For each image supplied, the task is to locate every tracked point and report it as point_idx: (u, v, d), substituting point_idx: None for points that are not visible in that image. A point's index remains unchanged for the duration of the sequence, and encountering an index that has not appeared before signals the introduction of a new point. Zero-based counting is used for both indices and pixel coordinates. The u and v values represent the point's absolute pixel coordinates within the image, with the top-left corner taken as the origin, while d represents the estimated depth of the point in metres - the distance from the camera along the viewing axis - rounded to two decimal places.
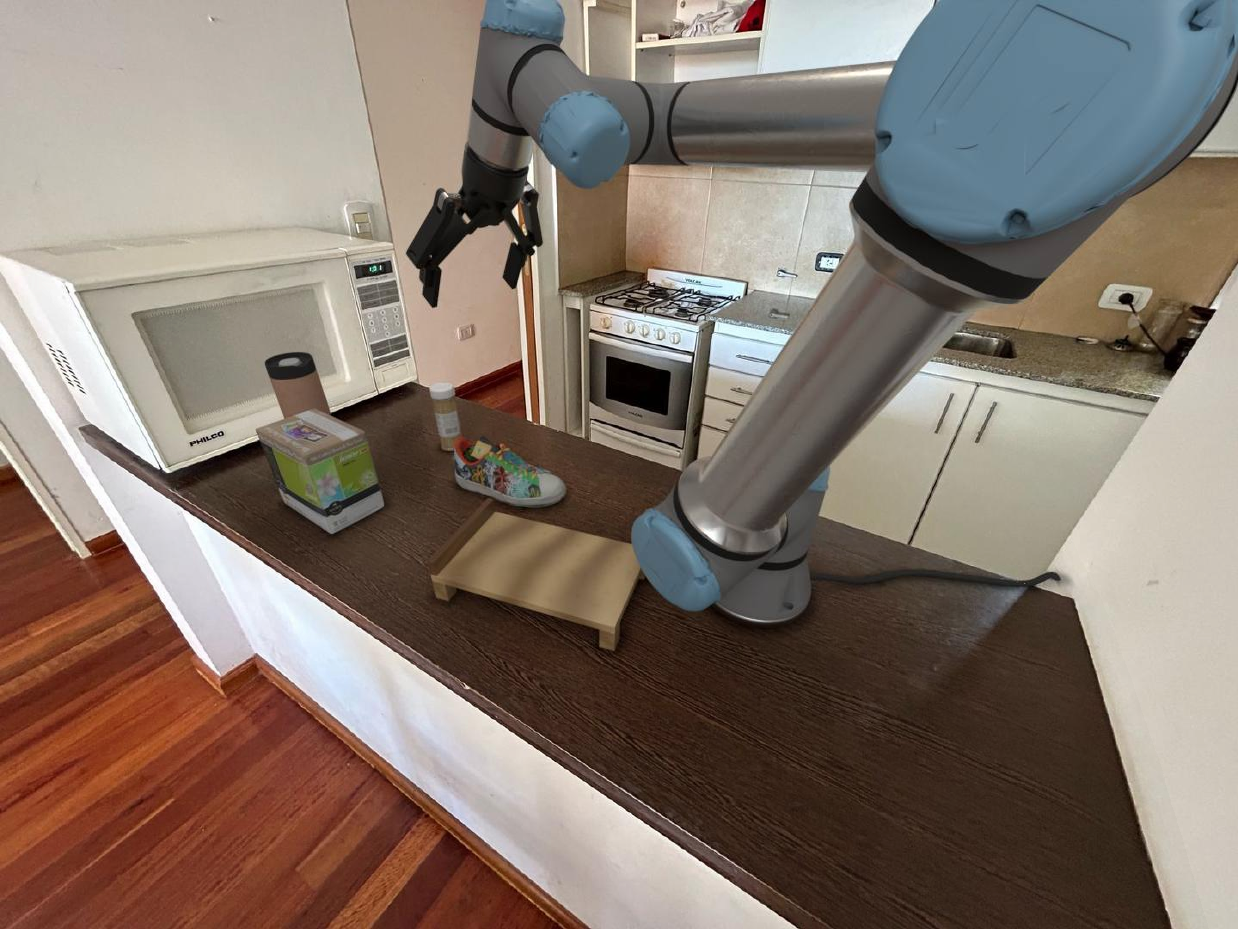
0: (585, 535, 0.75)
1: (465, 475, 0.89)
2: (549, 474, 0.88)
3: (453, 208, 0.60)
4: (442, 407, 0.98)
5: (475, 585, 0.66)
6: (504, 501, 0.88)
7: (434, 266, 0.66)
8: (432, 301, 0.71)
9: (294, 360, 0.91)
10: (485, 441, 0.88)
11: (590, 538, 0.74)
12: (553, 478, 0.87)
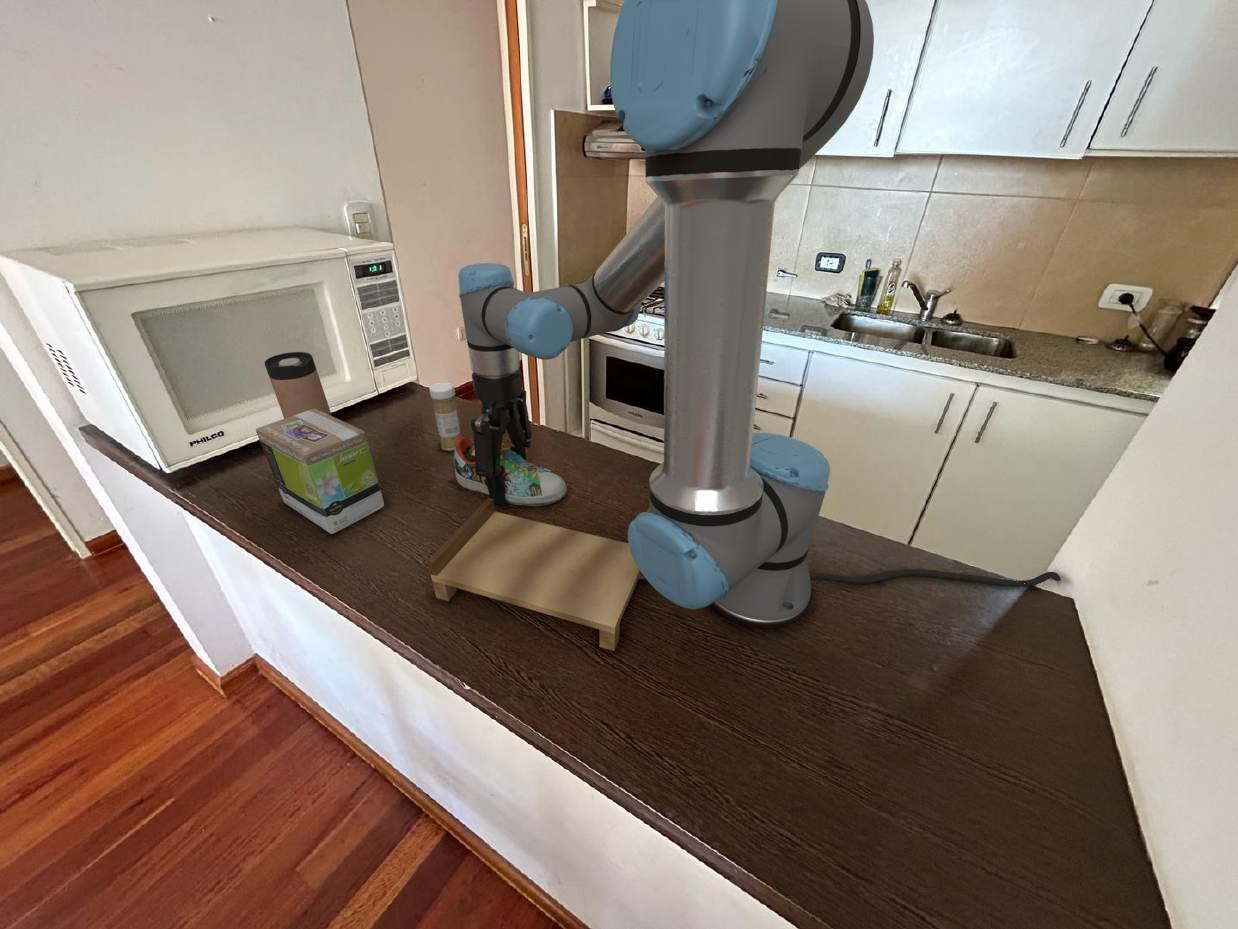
0: (585, 535, 0.75)
1: (466, 474, 0.90)
2: (550, 473, 0.89)
3: (488, 425, 0.78)
4: (442, 407, 0.98)
5: (475, 585, 0.66)
6: None
7: (497, 471, 0.83)
8: (502, 500, 0.87)
9: (294, 360, 0.91)
10: None
11: (590, 538, 0.74)
12: (554, 477, 0.88)
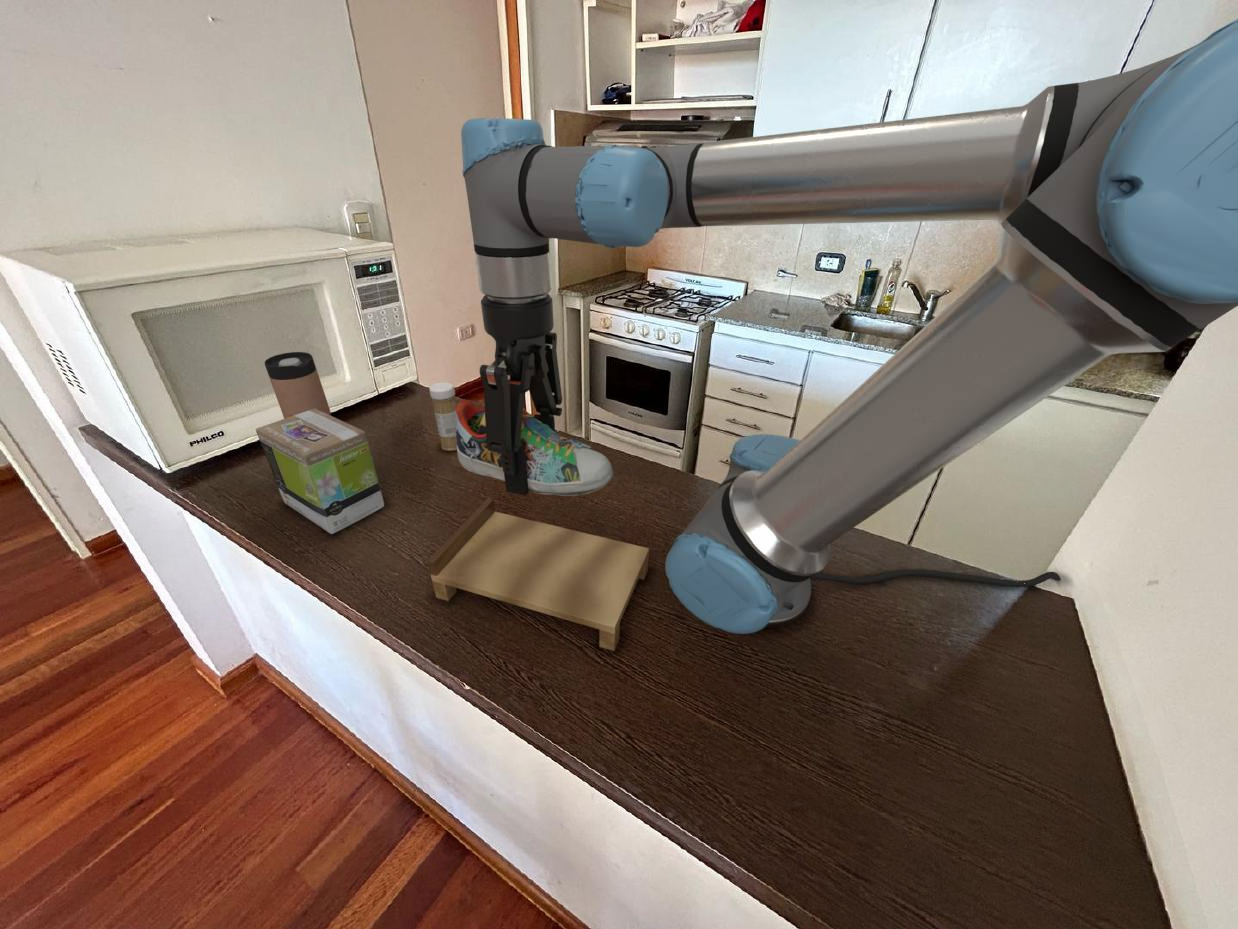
0: (585, 535, 0.75)
1: (472, 452, 0.64)
2: (589, 450, 0.63)
3: (505, 374, 0.53)
4: (442, 407, 0.98)
5: (475, 585, 0.66)
6: None
7: (518, 444, 0.58)
8: (524, 488, 0.62)
9: (294, 360, 0.91)
10: None
11: (590, 538, 0.74)
12: (596, 455, 0.62)
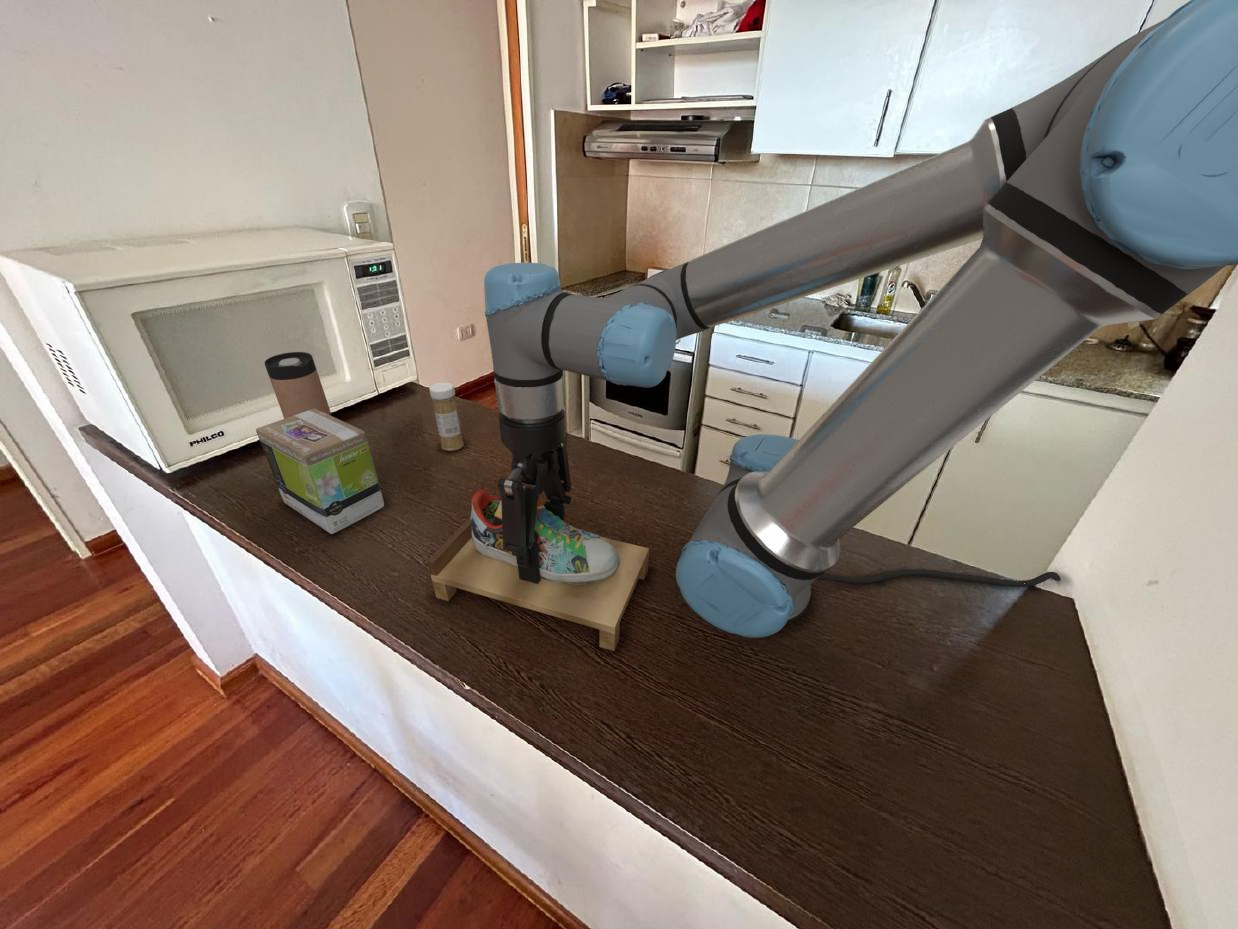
0: None
1: (486, 540, 0.68)
2: (597, 539, 0.67)
3: (522, 486, 0.57)
4: (442, 407, 0.98)
5: (475, 585, 0.66)
6: None
7: (531, 542, 0.62)
8: (536, 577, 0.66)
9: (294, 360, 0.91)
10: None
11: None
12: (603, 546, 0.66)
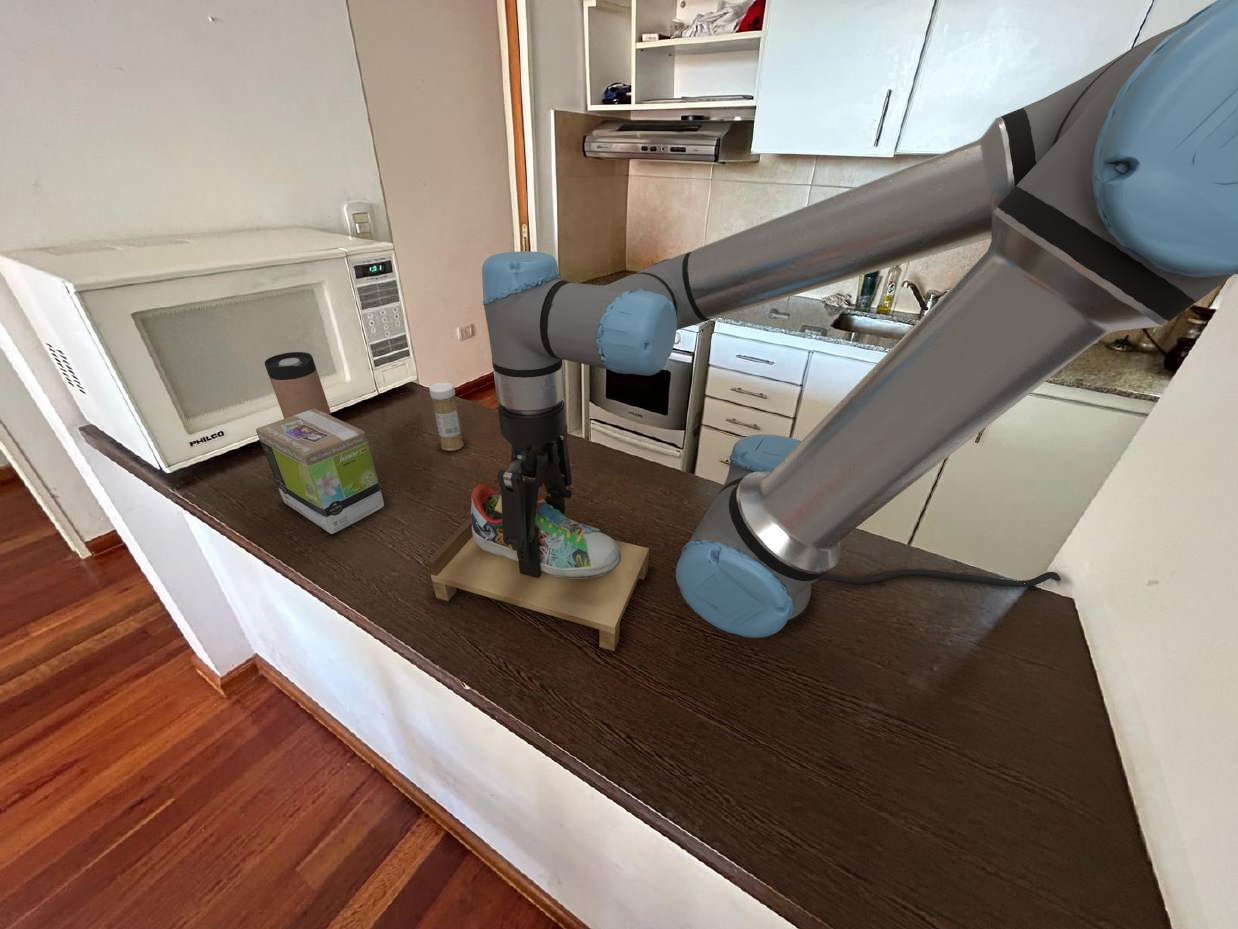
0: None
1: (487, 535, 0.68)
2: (598, 533, 0.67)
3: (522, 478, 0.56)
4: (442, 407, 0.98)
5: (475, 585, 0.66)
6: None
7: (532, 536, 0.61)
8: (537, 572, 0.65)
9: (294, 360, 0.91)
10: None
11: None
12: (605, 539, 0.66)
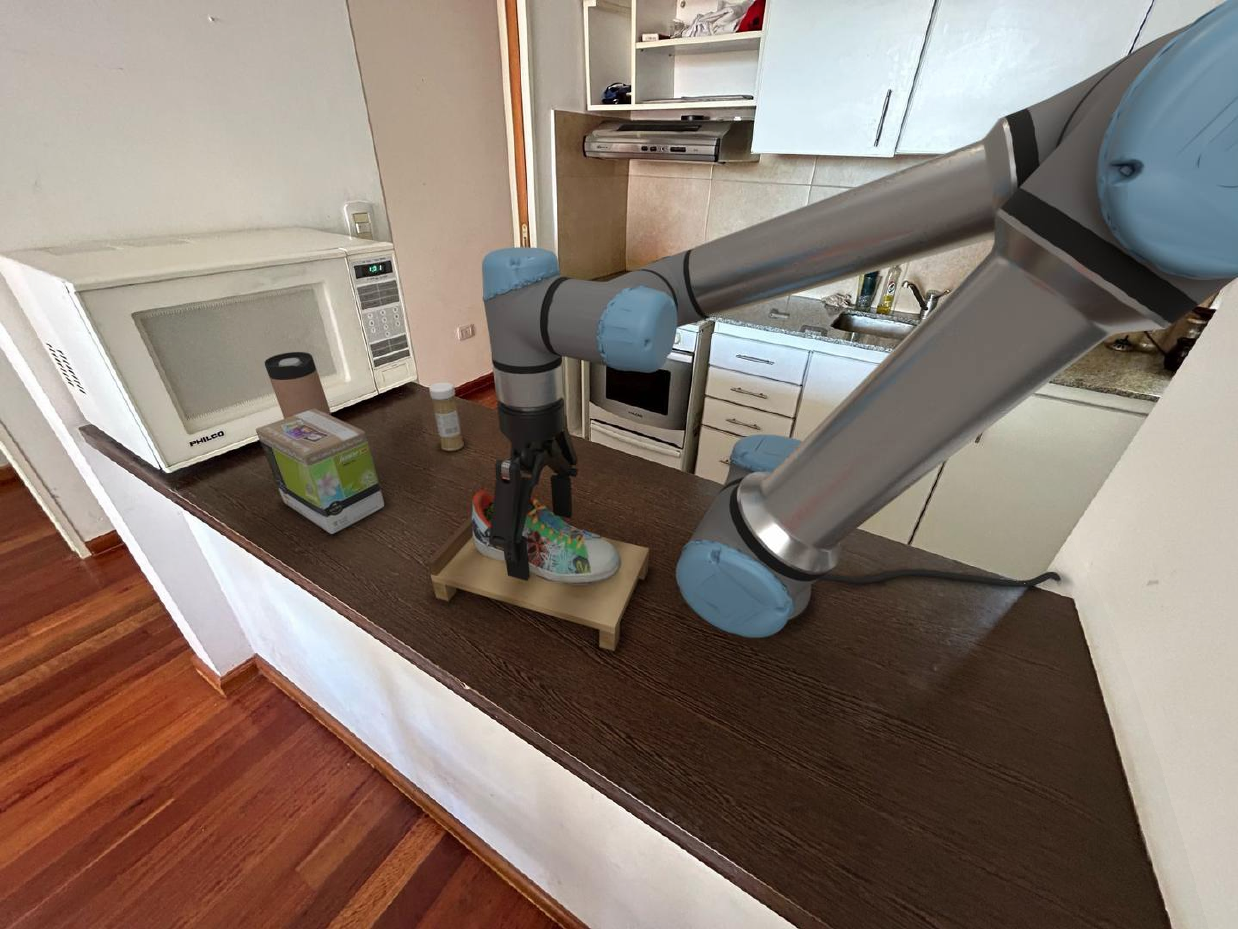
0: None
1: (487, 541, 0.68)
2: (598, 539, 0.67)
3: (519, 470, 0.55)
4: (442, 407, 0.98)
5: (475, 585, 0.66)
6: (540, 576, 0.67)
7: (520, 537, 0.58)
8: (525, 574, 0.62)
9: (294, 360, 0.91)
10: None
11: None
12: (605, 546, 0.66)
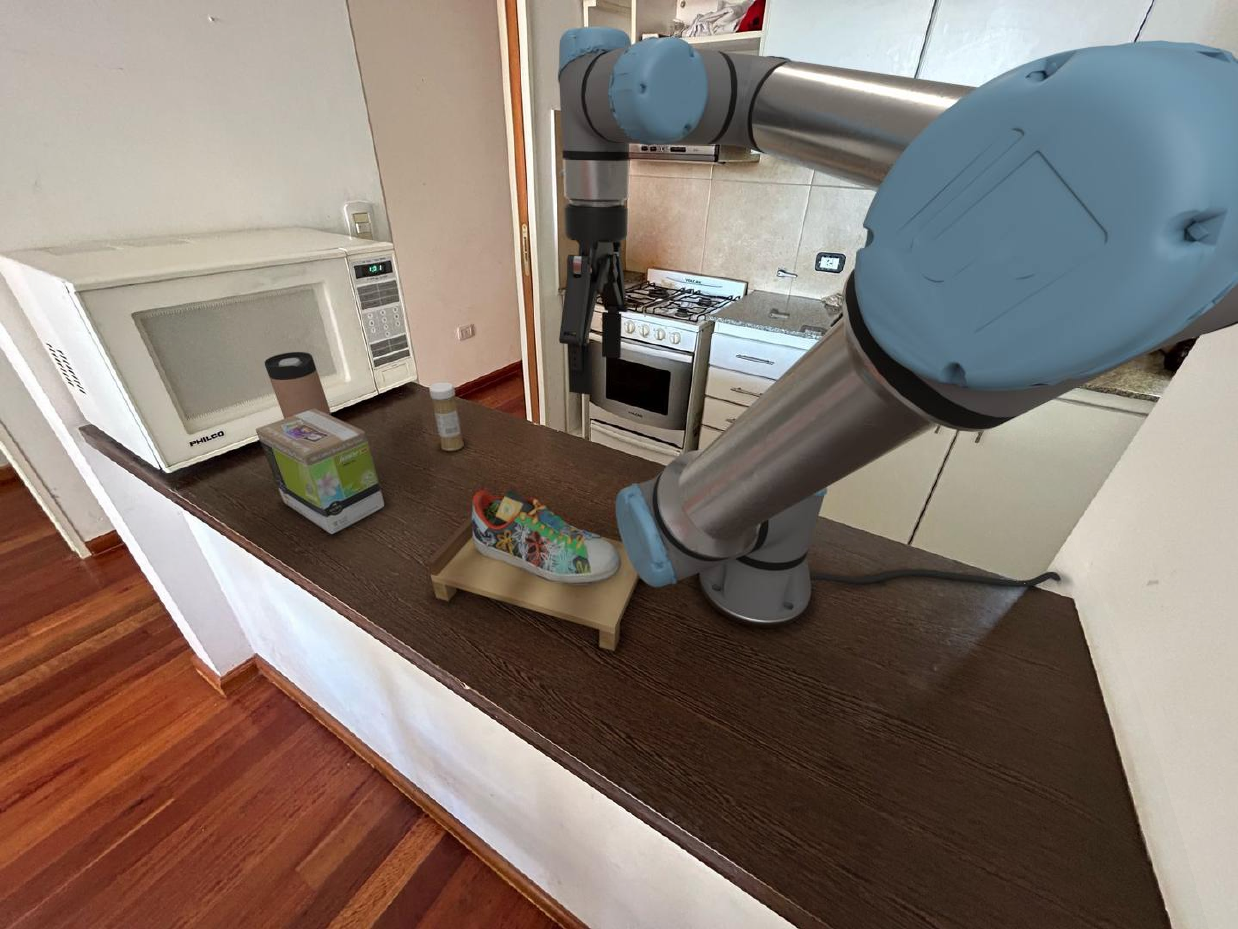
0: None
1: (487, 541, 0.68)
2: (598, 540, 0.67)
3: (590, 264, 0.58)
4: (442, 407, 0.98)
5: (475, 585, 0.66)
6: (540, 576, 0.67)
7: (586, 339, 0.61)
8: (588, 386, 0.64)
9: (294, 360, 0.91)
10: (514, 497, 0.67)
11: None
12: (605, 546, 0.66)
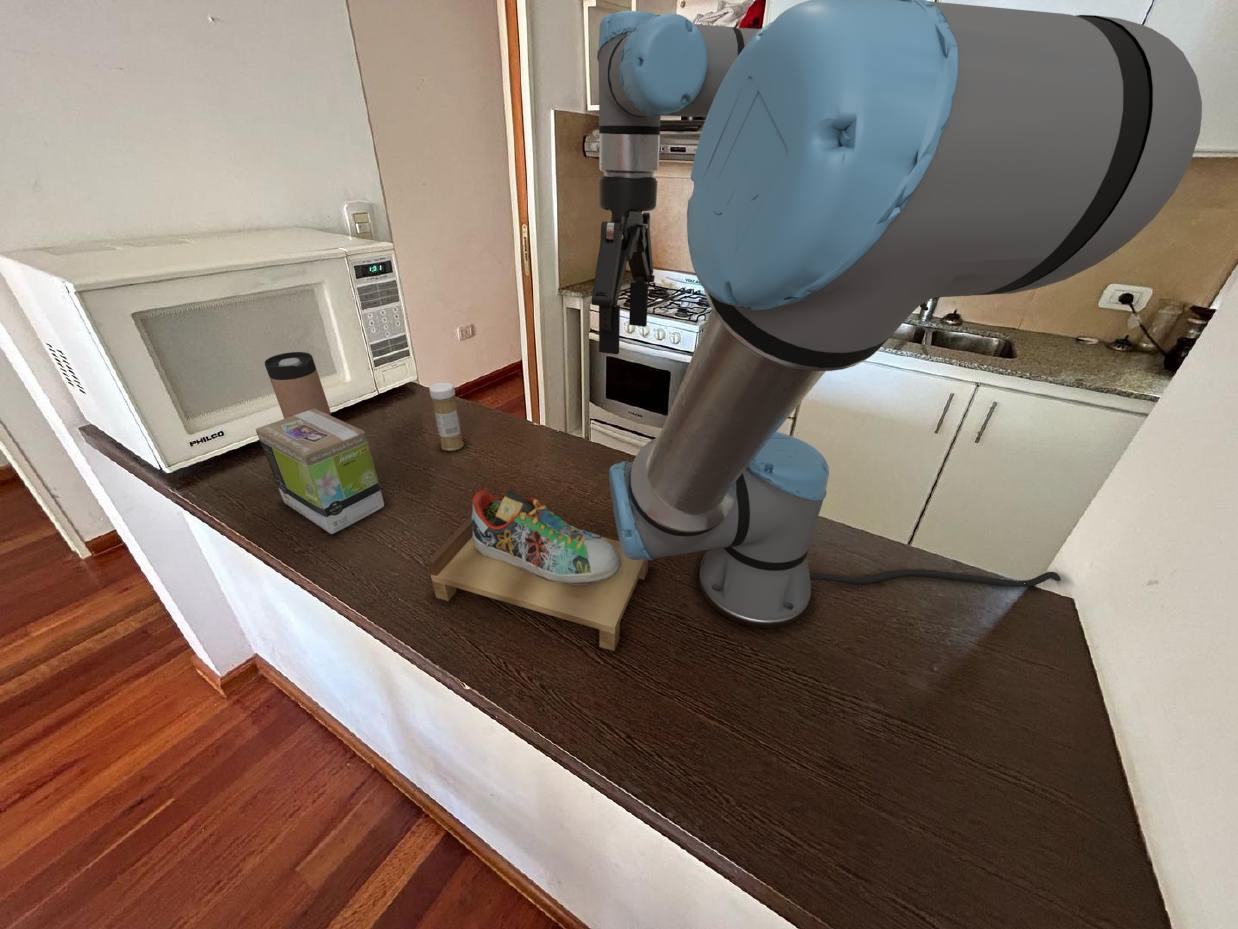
0: None
1: (487, 541, 0.68)
2: (598, 539, 0.67)
3: (622, 230, 0.63)
4: (442, 407, 0.98)
5: (475, 585, 0.66)
6: (540, 576, 0.67)
7: (616, 301, 0.66)
8: (616, 346, 0.70)
9: (294, 360, 0.91)
10: (514, 497, 0.67)
11: None
12: (605, 546, 0.66)
